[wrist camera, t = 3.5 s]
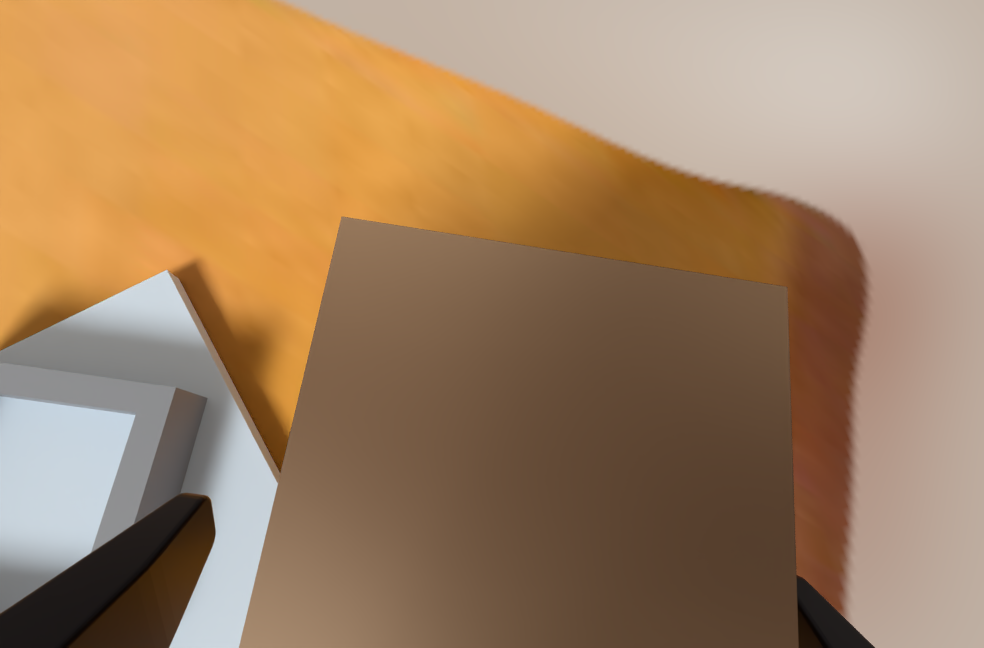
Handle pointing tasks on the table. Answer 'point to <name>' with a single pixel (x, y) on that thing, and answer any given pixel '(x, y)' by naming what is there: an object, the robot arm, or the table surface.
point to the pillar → (532, 456)
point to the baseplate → (94, 447)
